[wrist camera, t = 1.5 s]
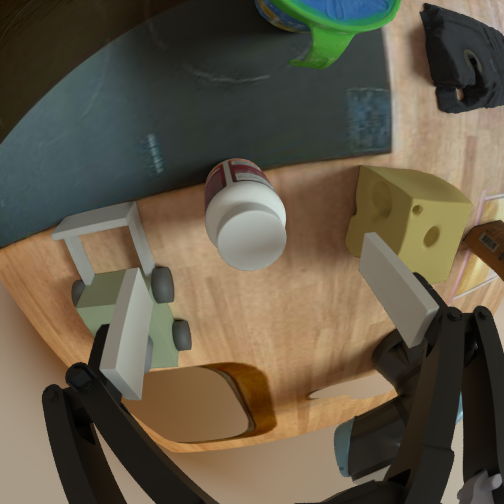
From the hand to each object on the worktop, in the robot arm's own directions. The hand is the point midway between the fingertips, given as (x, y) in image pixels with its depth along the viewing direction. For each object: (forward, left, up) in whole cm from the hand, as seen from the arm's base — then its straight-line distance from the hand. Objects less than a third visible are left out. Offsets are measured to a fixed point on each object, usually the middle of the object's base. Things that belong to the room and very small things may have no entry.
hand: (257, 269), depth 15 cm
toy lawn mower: (-10, +15, -14) cm, 23 cm away
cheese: (-4, -18, -14) cm, 24 cm away
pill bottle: (0, 0, -14) cm, 14 cm away
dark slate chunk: (+17, -34, -15) cm, 41 cm away
